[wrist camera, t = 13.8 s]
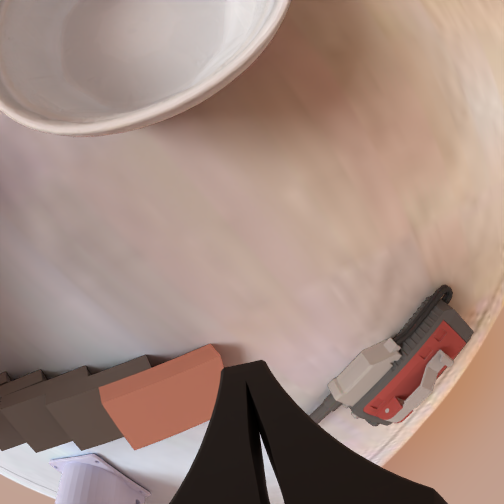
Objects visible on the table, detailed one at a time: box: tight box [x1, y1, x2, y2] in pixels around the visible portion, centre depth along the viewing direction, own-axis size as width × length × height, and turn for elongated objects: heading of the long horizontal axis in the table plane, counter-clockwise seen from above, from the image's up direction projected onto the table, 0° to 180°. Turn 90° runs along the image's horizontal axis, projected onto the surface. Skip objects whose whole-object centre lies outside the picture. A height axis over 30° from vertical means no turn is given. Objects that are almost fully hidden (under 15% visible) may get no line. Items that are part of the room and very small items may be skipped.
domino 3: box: [45, 355, 152, 451], centre depth 18 cm, size 2×5×8 cm
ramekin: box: [0, 0, 291, 137], centre depth 10 cm, size 13×13×7 cm
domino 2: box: [0, 365, 91, 453], centre depth 17 cm, size 2×5×8 cm
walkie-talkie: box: [309, 285, 473, 426], centre depth 22 cm, size 9×4×20 cm
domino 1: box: [0, 369, 47, 451], centre depth 17 cm, size 2×5×8 cm
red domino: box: [99, 344, 224, 450], centre depth 18 cm, size 2×5×8 cm
